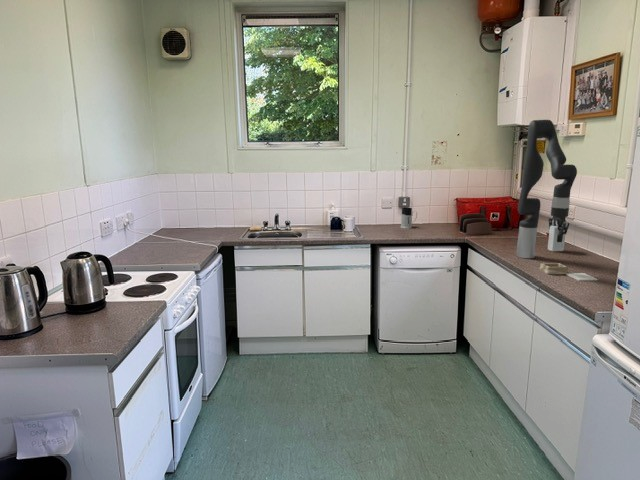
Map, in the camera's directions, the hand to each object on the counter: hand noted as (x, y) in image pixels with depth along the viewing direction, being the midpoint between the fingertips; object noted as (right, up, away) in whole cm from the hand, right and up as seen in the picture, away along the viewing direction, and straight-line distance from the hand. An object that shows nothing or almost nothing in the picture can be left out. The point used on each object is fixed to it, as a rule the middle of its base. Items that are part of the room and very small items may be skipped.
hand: (556, 240), depth 216 cm
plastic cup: (+24, -6, +47) cm, 53 cm away
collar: (0, -16, +3) cm, 16 cm away
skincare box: (0, -5, +1) cm, 5 cm away
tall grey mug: (-47, +10, +124) cm, 133 cm away
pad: (+8, -17, -6) cm, 20 cm away
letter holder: (-4, +5, +102) cm, 102 cm away
